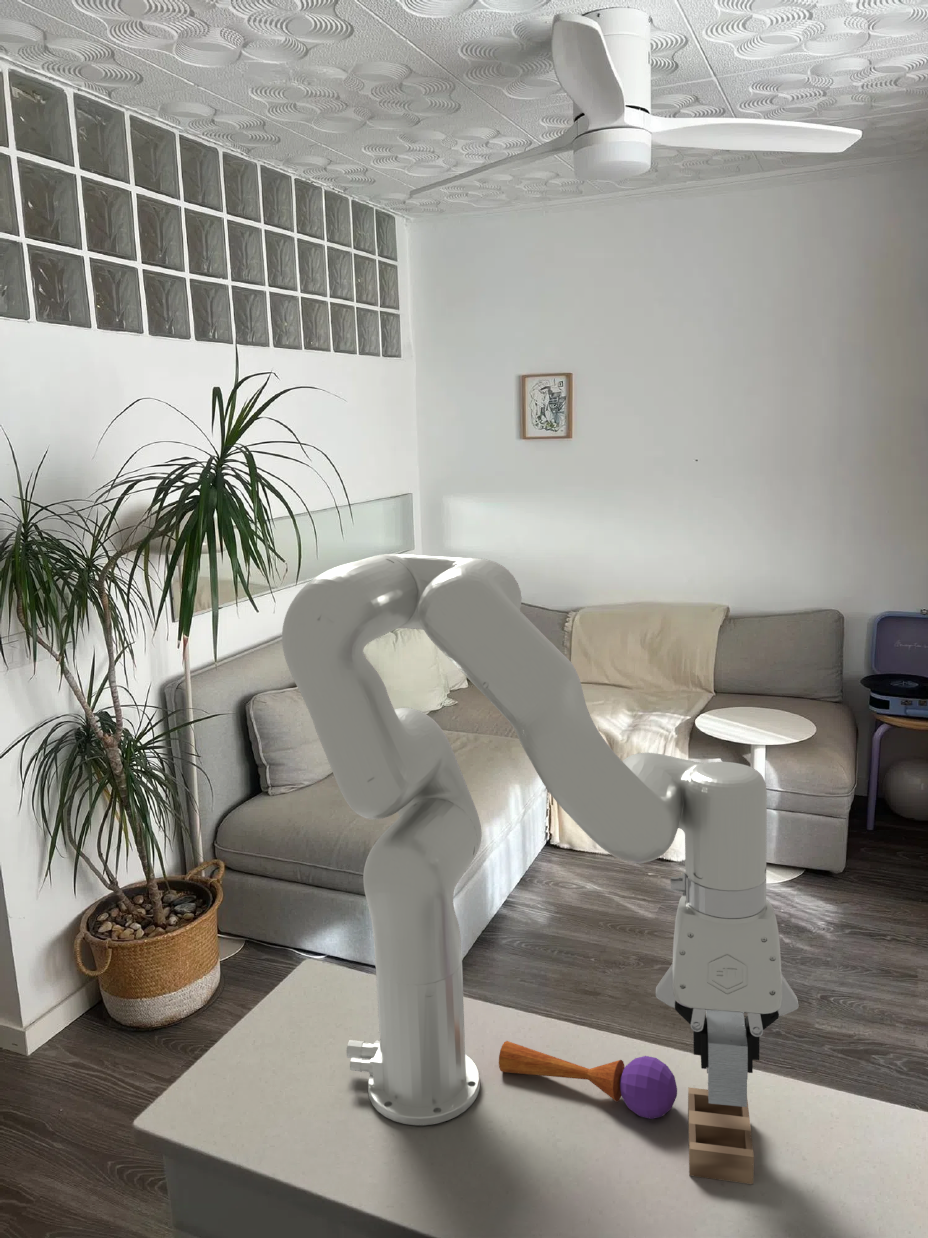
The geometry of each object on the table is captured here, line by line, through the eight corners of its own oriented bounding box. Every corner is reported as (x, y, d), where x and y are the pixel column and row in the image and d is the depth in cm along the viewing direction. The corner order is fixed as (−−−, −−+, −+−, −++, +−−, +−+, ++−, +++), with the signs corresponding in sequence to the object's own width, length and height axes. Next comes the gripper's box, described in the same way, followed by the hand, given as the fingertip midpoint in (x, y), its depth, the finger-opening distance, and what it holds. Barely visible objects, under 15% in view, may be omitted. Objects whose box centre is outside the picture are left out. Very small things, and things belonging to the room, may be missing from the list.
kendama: (515, 1021, 111) (682, 1053, 102) (515, 1071, 111) (683, 1108, 101) (493, 1040, 106) (667, 1076, 96) (494, 1094, 105) (668, 1134, 96)
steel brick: (708, 1108, 91) (708, 1043, 89) (706, 1060, 98) (705, 999, 96) (747, 1112, 90) (747, 1046, 89) (742, 1063, 97) (742, 1002, 96)
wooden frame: (689, 1175, 92) (689, 1149, 91) (687, 1112, 100) (688, 1087, 100) (753, 1184, 90) (753, 1157, 90) (746, 1119, 99) (746, 1094, 98)
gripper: (636, 905, 88) (640, 1079, 92) (822, 915, 85) (819, 1096, 88) (639, 870, 95) (642, 1032, 99) (810, 878, 92) (808, 1046, 95)
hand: (725, 1060), depth 93 cm, fingers closed on steel brick, 3 cm apart
